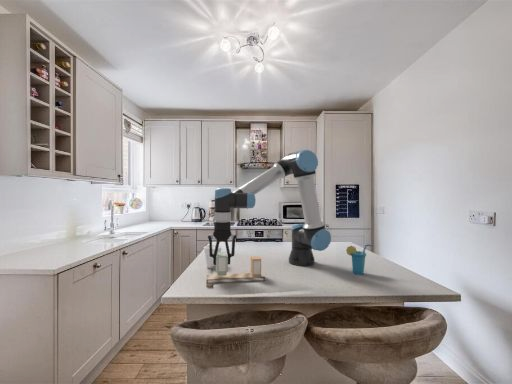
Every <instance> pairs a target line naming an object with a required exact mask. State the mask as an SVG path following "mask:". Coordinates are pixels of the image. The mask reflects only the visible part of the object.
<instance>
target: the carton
mask: <svg viewBox="0 0 512 384" xmlns="http://www.w3.org/2000/svg"><path fill="white" fill-rule="evenodd" d="M217 257H218V271H217V274H216V275H218V276H222V275H226V274H227V272H226V267H227V257H228V255H227V252H221V253H217Z"/></svg>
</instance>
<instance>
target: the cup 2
mask: <svg viewBox="0 0 512 384" xmlns="http://www.w3.org/2000/svg"><path fill="white" fill-rule="evenodd" d="M367 247H370V248H371V247H374V246H373V244H365V245H364V247H363V249H362V250H361V251H359V250H357V249H356V247H355V246H353V245H350V246H347V247H346V250H345V251H346V253H347V255H349V256H350V257H351V264H352V265H351V266H352V273H354V275H357V274H359V275H360V276H361V275H362V274H363V275H364V273H365V263H366V257H367V253H366V248H367ZM359 275H358V276H359Z"/></svg>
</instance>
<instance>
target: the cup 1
mask: <svg viewBox="0 0 512 384" xmlns="http://www.w3.org/2000/svg"><path fill="white" fill-rule="evenodd" d="M215 247H216V244H212V254H214V251H215ZM222 249H223V246H221V245H219V247H218V251H217V253H222ZM203 250H204V254H205V255H204V256H205V262H206V267H207V268H208V269H213V267H216V265H214V264H213V257H210V251H209V245H206V246H203ZM216 257H217V256H216Z"/></svg>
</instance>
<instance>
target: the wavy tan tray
mask: <svg viewBox="0 0 512 384" xmlns="http://www.w3.org/2000/svg"><path fill="white" fill-rule="evenodd" d="M265 281H266V280H265V276H263V275H261V277H251V272H249V273H248V272H247V273H245V272H244V273H226V275H222V276H218V275H217V274H206V284H205V285H206V287H214V284H227V283H228V284H229V283H248V282H265Z"/></svg>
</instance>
